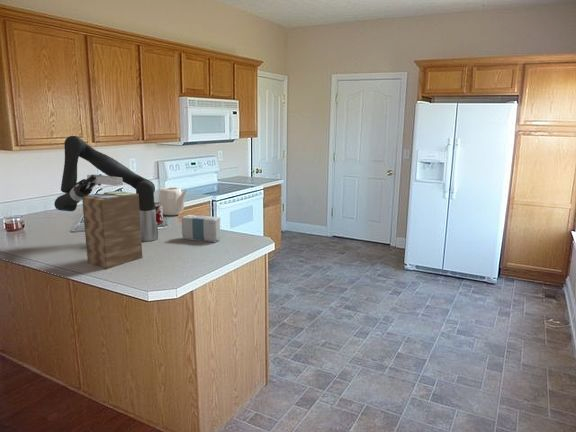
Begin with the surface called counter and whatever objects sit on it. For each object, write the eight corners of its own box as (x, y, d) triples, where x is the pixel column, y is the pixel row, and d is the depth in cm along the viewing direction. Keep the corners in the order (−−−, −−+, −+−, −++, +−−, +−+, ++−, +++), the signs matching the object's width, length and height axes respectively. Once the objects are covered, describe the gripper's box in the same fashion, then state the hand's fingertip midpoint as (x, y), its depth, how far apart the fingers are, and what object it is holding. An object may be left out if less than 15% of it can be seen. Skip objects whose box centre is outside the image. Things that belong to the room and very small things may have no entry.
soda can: (152, 224, 285) (151, 206, 282) (152, 222, 291) (151, 204, 288) (163, 224, 286) (162, 205, 284) (163, 221, 293) (162, 204, 290)
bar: (87, 182, 217) (86, 175, 216) (93, 181, 220) (93, 174, 219) (116, 185, 206) (116, 178, 205) (122, 184, 209) (122, 177, 208)
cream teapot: (179, 218, 303) (178, 191, 299) (152, 214, 316) (150, 187, 312) (195, 214, 316) (194, 188, 312) (168, 210, 329) (167, 185, 325)
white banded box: (181, 239, 250) (180, 205, 246) (189, 236, 258) (187, 202, 253) (215, 243, 244) (214, 207, 240) (221, 239, 252) (221, 205, 247)
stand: (87, 263, 207) (81, 196, 200) (123, 253, 224) (119, 190, 217) (107, 268, 200) (101, 199, 193) (142, 257, 217) (138, 193, 210)
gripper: (96, 195, 230) (113, 181, 220) (70, 199, 218) (87, 184, 208) (90, 182, 230) (107, 167, 221) (64, 186, 219) (81, 170, 209)
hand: (97, 176), depth 215 cm, fingers closed on bar, 3 cm apart
